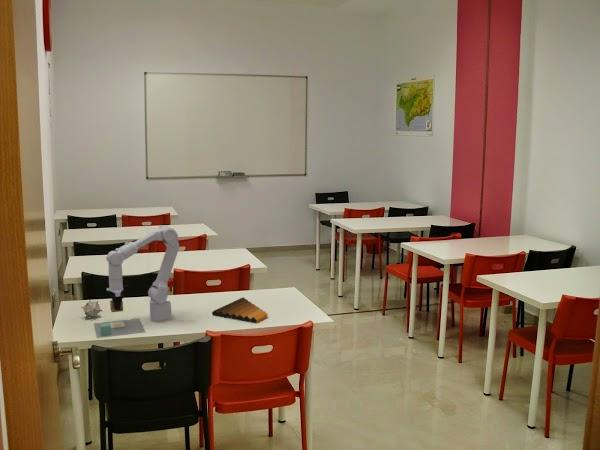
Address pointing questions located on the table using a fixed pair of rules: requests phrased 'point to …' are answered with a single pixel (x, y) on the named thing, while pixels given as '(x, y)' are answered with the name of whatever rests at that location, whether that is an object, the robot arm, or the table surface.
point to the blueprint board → (121, 328)
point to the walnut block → (114, 308)
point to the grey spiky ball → (91, 309)
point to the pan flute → (241, 311)
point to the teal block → (105, 329)
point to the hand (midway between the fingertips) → (116, 308)
